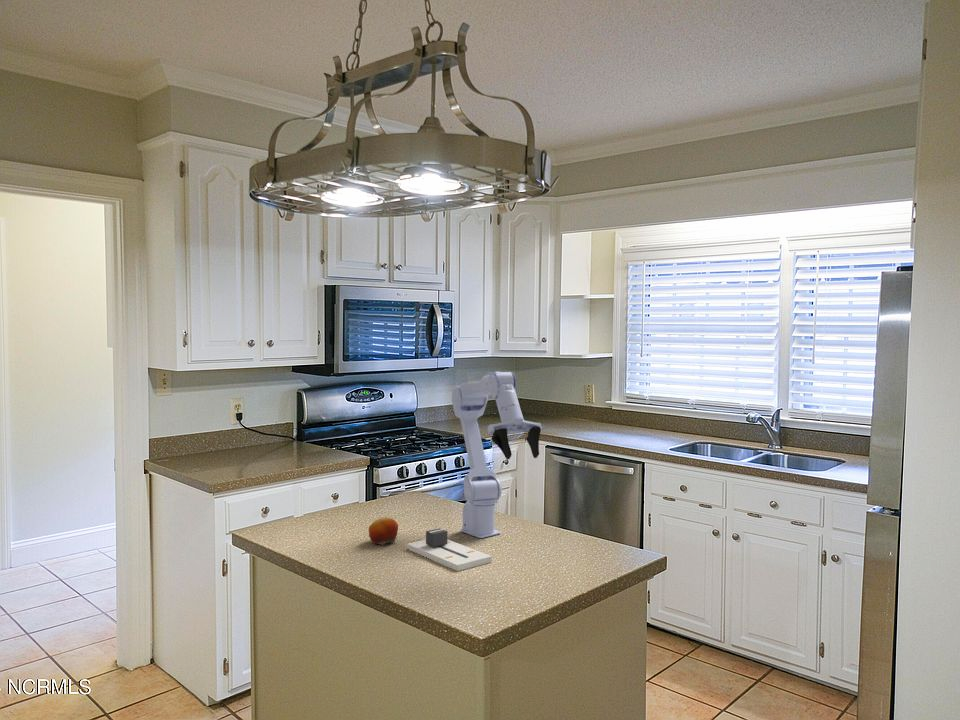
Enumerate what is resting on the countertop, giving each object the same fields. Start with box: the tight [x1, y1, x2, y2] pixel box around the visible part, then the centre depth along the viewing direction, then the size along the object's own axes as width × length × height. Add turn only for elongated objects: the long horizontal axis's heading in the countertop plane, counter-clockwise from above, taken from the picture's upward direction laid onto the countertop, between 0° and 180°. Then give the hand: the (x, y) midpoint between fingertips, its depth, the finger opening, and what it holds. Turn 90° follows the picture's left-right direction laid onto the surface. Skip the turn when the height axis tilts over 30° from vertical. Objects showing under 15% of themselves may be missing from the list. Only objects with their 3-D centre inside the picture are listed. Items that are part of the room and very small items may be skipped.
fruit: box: [368, 517, 399, 546], centre depth 201 cm, size 8×8×8 cm
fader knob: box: [425, 527, 448, 547], centre depth 194 cm, size 4×4×4 cm
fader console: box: [406, 538, 493, 572], centre depth 190 cm, size 22×11×2 cm, turn 40°
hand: (523, 456), depth 184 cm, fingers open, 7 cm apart
